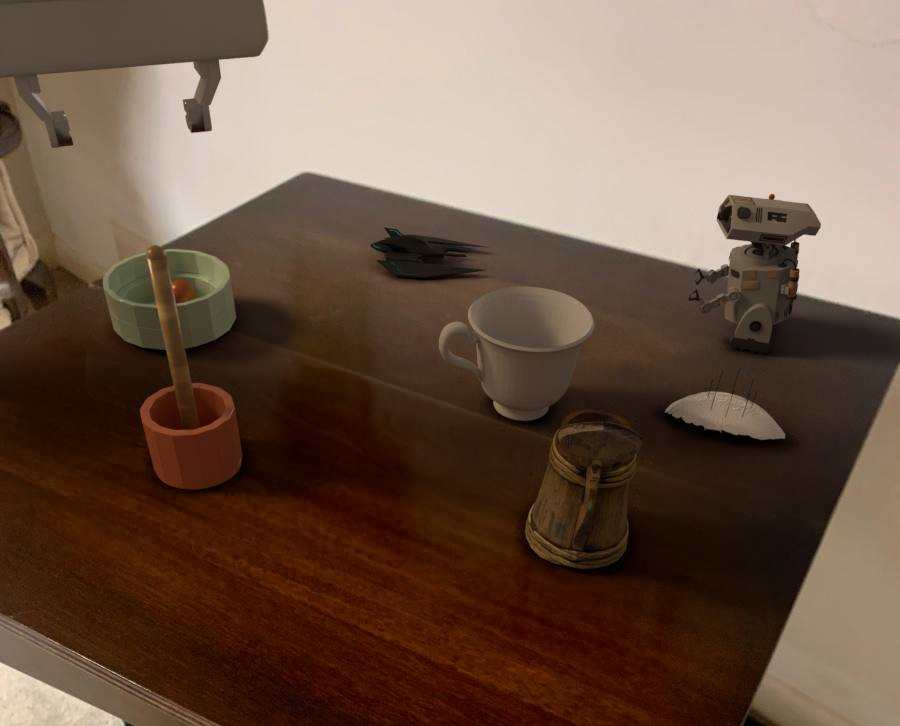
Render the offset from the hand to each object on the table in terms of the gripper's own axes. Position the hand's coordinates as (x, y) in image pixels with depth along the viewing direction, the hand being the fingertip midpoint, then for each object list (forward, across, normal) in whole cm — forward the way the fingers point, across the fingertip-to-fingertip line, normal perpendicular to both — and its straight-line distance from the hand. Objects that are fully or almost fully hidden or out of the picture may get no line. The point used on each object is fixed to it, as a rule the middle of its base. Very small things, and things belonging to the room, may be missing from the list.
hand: (132, 136), depth 62 cm
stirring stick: (+28, 0, 0) cm, 28 cm away
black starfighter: (+29, -36, -31) cm, 56 cm away
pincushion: (+29, -50, +13) cm, 59 cm away
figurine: (+29, -63, -3) cm, 69 cm away
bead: (+26, -5, -28) cm, 39 cm away
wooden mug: (+29, -27, +24) cm, 46 cm away
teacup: (+29, -31, +2) cm, 42 cm away
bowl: (+28, -3, -26) cm, 39 cm away
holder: (+28, 0, 0) cm, 28 cm away
